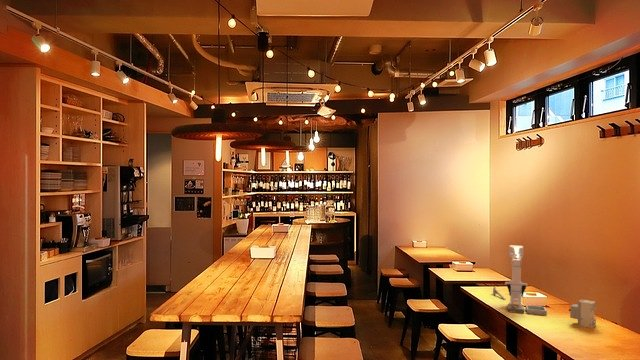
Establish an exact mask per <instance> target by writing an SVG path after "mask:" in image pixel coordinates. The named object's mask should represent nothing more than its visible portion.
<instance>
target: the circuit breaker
mask: <svg viewBox="0 0 640 360" xmlns="http://www.w3.org/2000/svg"><path fill="white" fill-rule="evenodd" d="M596 302H597V301H593V300H587V299H580V300H578V301H577V303H576V304H575V303H573V304H571V305H570V306H569V307H570V308H569V309H568V311H569V313H570V314H569V316H570V317H569V319H574V320H577V326H578V327H585V328H591V329H593V328H594V327H596V326H597V325H596V324H597V323H596V322H597V318H596V317H595V311H596V309H597V304H596Z"/></svg>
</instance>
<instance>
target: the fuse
mask: <svg viewBox="0 0 640 360" xmlns="http://www.w3.org/2000/svg"><path fill="white" fill-rule="evenodd" d="M513 301H514V303H513V307H516V308H518V299H516V298H514V299H513Z"/></svg>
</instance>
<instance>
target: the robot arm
mask: <svg viewBox="0 0 640 360" xmlns="http://www.w3.org/2000/svg"><path fill="white" fill-rule="evenodd" d="M508 248H509V249H508V253H509V254H508V255H509V257H510V258H511V280H509V281H505V282H504V285H505V286H506V287H507V290H508V293H509V297H510V299H509V301H510V302H508V304H512V305H513V303H514V301H513V299H514V298H516V299H518V305H522V298H523V296H524V293H525V291H526V288H527V287H528V285H529V284H528V283H527V282H526V283H525V282H523V281H522V274H521V273H522V265H523V262H522V261H523V260H522V259H523V257H524V246H523V245H511V244H510V245H509V247H508Z"/></svg>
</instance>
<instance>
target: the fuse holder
mask: <svg viewBox="0 0 640 360" xmlns="http://www.w3.org/2000/svg"><path fill="white" fill-rule="evenodd" d="M507 310H508V313H518V314H519V313H520V314H525V308H524V306H523V305H522V304H521V305H518V308H516V307H513V305H512V304H509V303H508V304H507Z"/></svg>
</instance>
